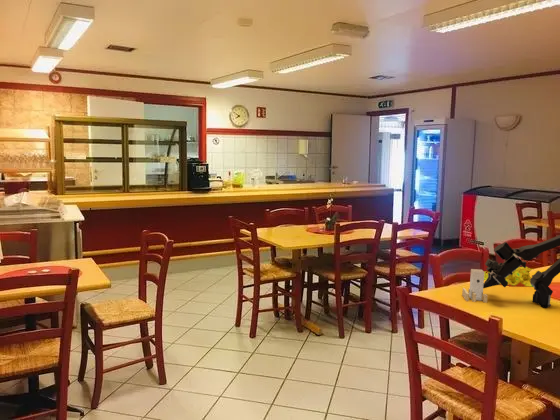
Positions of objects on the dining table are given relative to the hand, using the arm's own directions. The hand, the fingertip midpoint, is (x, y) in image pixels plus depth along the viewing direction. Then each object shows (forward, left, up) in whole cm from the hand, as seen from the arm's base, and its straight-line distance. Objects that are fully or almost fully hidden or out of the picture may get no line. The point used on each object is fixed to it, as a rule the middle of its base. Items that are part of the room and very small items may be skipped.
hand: (482, 287), depth 224 cm
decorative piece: (+6, -50, -7) cm, 51 cm away
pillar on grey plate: (+2, +2, -6) cm, 6 cm away
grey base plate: (0, 0, -7) cm, 7 cm away
